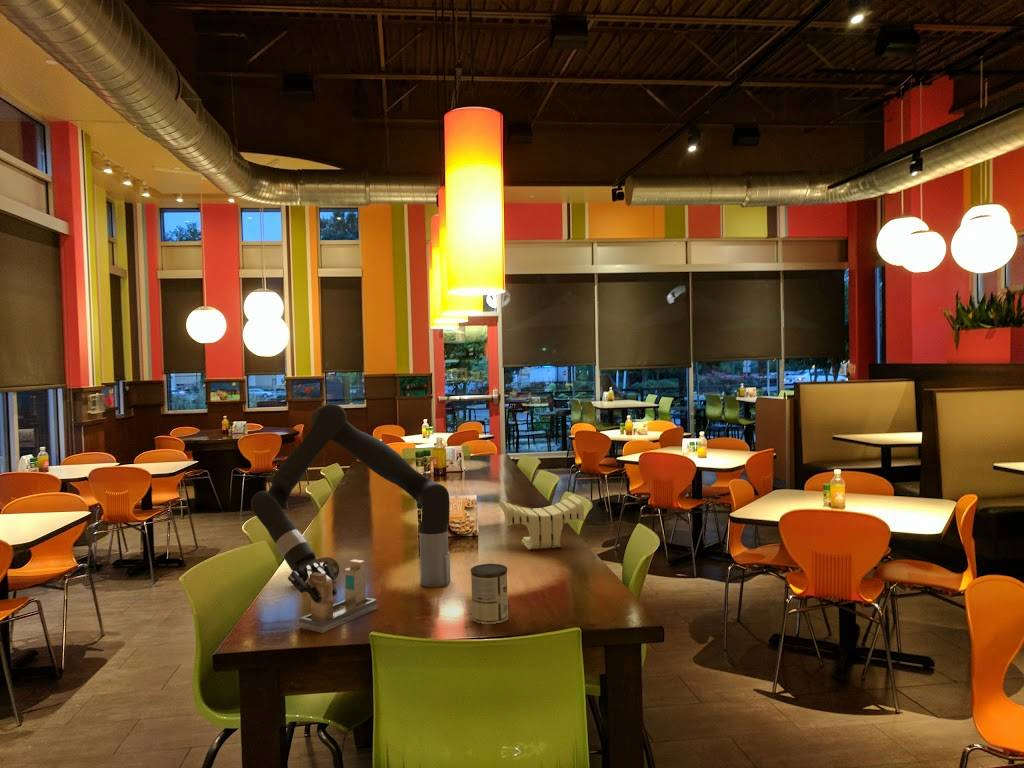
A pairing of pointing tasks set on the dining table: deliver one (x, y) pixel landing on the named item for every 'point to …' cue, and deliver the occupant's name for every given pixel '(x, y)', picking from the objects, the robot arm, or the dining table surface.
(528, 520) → the slatted curved stool
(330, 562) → the tin
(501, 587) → the coffee can
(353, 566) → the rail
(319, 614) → the maple finger
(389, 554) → the dining table surface
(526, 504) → the dining table surface
